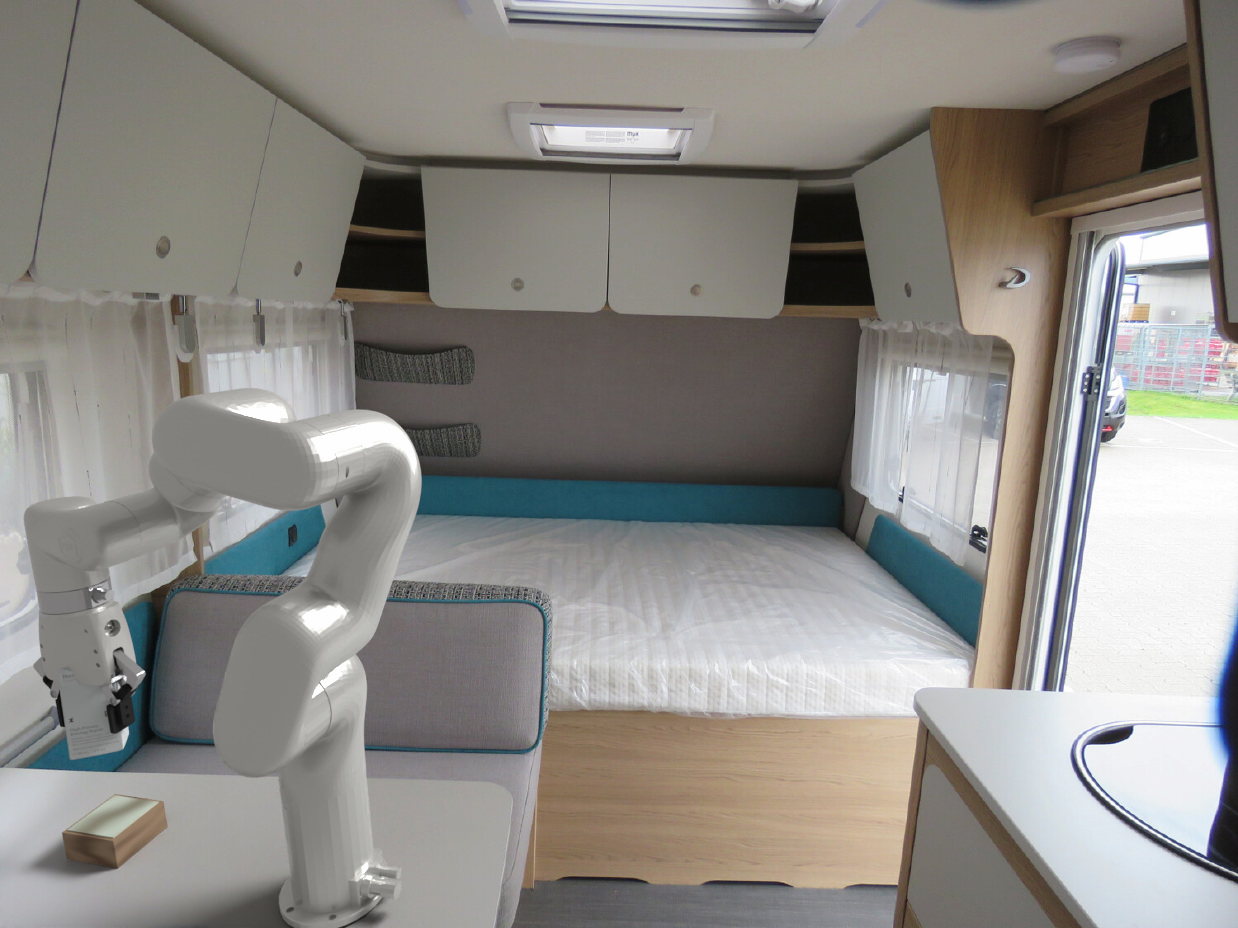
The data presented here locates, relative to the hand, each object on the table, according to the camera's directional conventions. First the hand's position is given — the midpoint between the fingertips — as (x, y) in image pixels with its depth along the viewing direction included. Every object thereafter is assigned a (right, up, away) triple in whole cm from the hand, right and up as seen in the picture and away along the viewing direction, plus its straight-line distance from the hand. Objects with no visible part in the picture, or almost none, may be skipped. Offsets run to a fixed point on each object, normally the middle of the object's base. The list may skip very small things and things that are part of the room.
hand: (97, 723), depth 97 cm
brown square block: (0, -17, +4) cm, 18 cm away
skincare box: (0, -3, +1) cm, 3 cm away
